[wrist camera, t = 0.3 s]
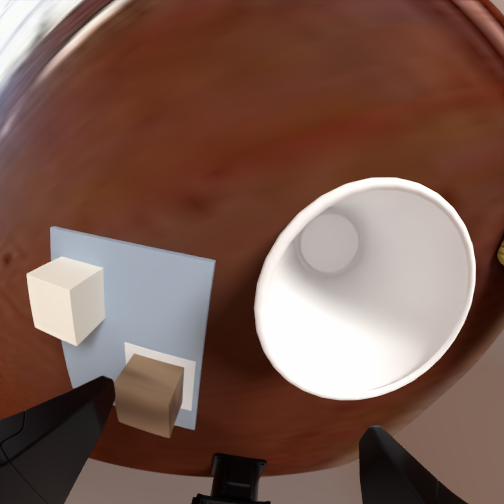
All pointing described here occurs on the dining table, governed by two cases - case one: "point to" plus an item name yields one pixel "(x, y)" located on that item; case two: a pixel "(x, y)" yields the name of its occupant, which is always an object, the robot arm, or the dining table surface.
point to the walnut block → (149, 395)
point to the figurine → (501, 253)
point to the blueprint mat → (142, 311)
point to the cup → (365, 289)
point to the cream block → (67, 298)
